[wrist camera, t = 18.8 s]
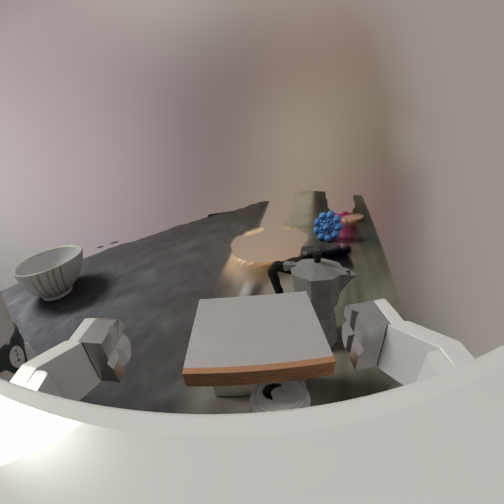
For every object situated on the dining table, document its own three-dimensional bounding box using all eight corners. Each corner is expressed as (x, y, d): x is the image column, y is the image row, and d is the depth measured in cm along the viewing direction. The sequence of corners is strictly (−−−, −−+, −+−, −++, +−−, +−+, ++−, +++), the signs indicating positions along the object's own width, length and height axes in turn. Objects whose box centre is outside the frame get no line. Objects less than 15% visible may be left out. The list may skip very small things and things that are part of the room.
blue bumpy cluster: (344, 240, 102) (345, 209, 98) (340, 245, 97) (340, 213, 93) (317, 236, 109) (316, 207, 104) (310, 241, 103) (310, 210, 99)
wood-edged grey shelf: (212, 453, 29) (182, 373, 23) (217, 383, 42) (199, 299, 36) (319, 444, 29) (335, 361, 23) (302, 376, 42) (305, 291, 36)
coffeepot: (350, 329, 52) (358, 245, 46) (343, 360, 44) (355, 266, 38) (278, 319, 58) (275, 239, 52) (262, 346, 50) (256, 257, 44)
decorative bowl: (57, 317, 60) (43, 277, 56) (13, 307, 64) (0, 274, 60) (105, 276, 85) (97, 243, 81) (57, 274, 89) (49, 246, 85)
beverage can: (269, 422, 34) (265, 364, 30) (311, 435, 31) (320, 379, 26) (246, 454, 28) (236, 402, 24) (292, 471, 25) (296, 424, 21)
